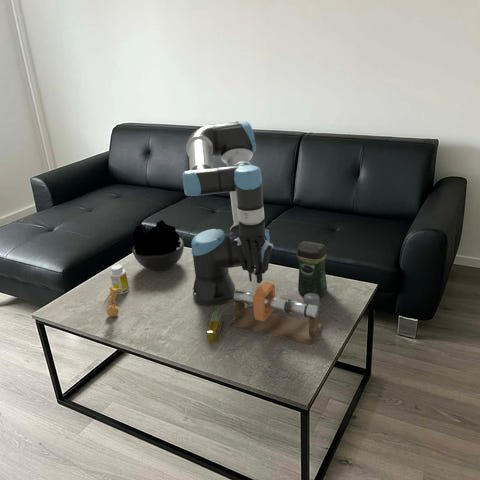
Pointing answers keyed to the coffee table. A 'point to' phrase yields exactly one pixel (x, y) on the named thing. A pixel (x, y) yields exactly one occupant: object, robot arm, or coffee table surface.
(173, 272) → the coffee table surface
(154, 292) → the coffee table surface
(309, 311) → the pipe
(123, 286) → the supplement bottle
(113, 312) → the figurine
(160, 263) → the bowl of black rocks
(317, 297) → the gray egg
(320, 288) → the coffee jar
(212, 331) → the medication box
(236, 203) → the robot arm
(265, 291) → the ring
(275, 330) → the stand
